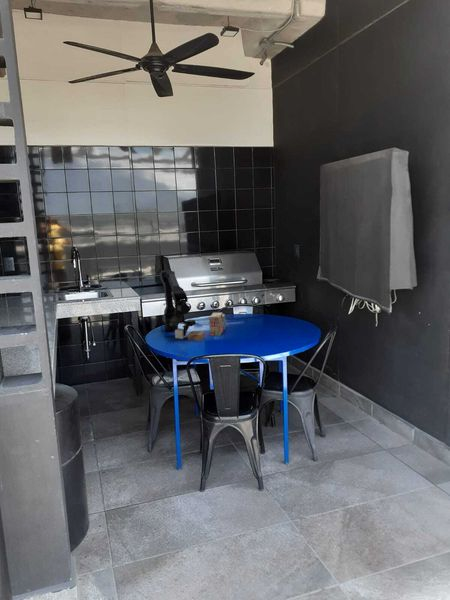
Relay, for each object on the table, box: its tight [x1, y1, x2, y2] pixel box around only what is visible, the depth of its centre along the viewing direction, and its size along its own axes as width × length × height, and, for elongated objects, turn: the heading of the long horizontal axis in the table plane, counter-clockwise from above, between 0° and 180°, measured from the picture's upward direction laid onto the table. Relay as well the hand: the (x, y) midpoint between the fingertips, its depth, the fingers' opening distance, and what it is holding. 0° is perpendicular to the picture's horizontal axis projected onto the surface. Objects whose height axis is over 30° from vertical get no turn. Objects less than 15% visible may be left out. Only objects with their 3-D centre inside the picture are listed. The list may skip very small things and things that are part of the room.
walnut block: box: [187, 330, 206, 342], centre depth 275 cm, size 8×8×4 cm
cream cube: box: [174, 327, 187, 340], centre depth 280 cm, size 5×5×5 cm
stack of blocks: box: [209, 312, 226, 337], centre depth 291 cm, size 21×6×12 cm, turn 170°
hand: (180, 335), depth 280 cm, fingers closed on cream cube, 5 cm apart
